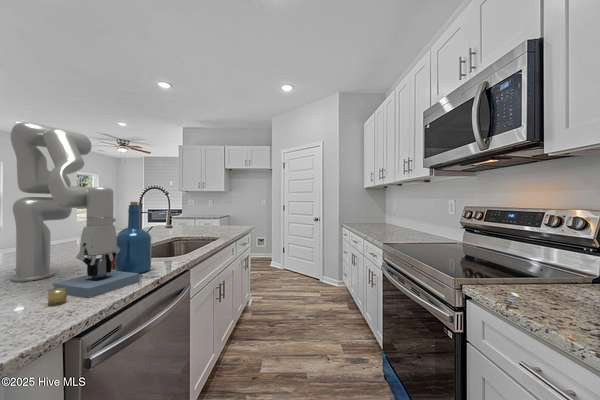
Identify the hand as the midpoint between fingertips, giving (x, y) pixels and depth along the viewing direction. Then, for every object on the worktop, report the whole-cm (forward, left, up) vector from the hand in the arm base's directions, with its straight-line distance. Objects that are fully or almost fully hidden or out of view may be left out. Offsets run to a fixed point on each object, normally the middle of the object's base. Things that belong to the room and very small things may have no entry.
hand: (99, 273), depth 94 cm
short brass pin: (+4, -15, -5) cm, 16 cm away
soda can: (-21, +20, -5) cm, 29 cm away
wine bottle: (-7, +19, -5) cm, 21 cm away
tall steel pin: (0, 0, -5) cm, 5 cm away
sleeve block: (0, 0, -5) cm, 5 cm away
